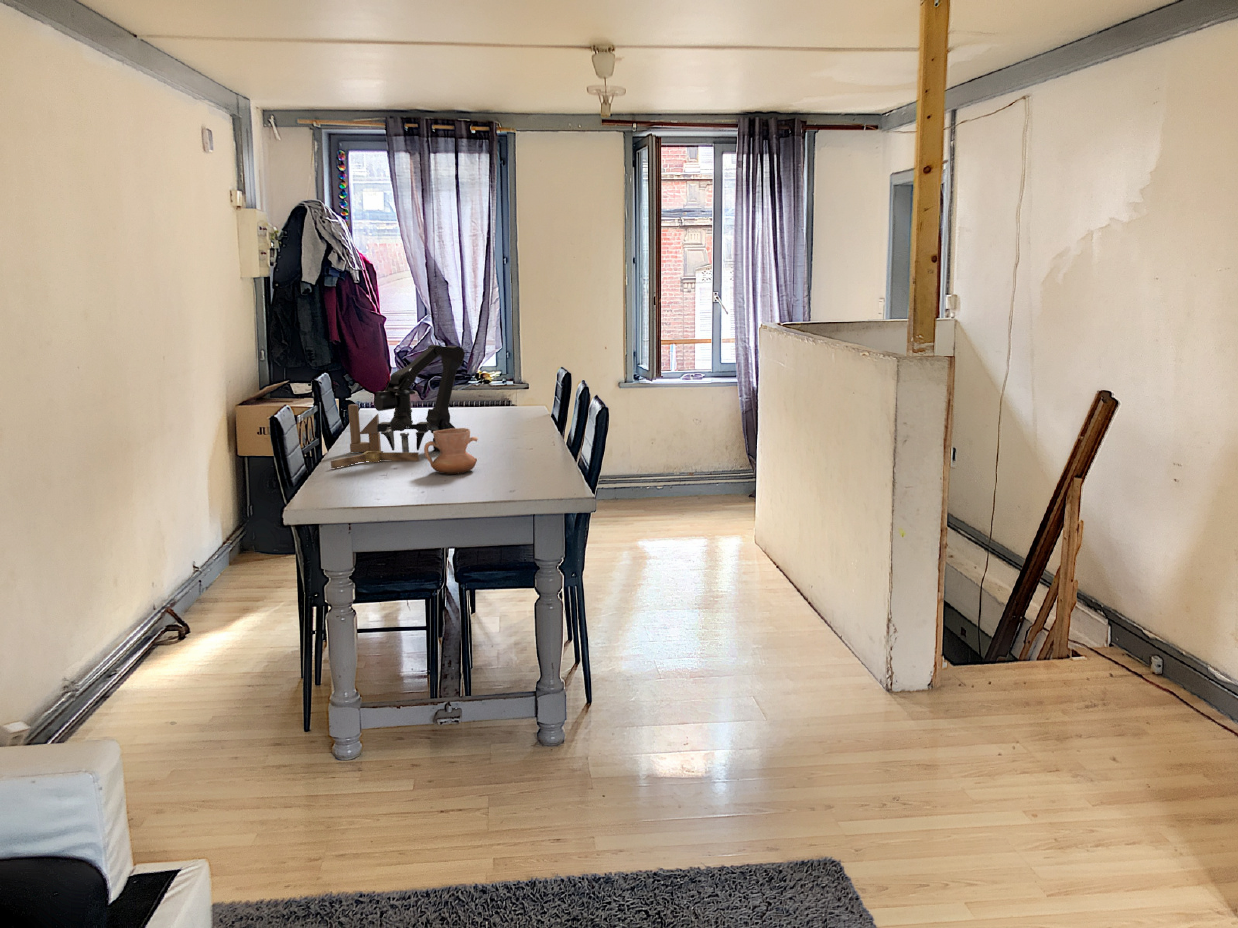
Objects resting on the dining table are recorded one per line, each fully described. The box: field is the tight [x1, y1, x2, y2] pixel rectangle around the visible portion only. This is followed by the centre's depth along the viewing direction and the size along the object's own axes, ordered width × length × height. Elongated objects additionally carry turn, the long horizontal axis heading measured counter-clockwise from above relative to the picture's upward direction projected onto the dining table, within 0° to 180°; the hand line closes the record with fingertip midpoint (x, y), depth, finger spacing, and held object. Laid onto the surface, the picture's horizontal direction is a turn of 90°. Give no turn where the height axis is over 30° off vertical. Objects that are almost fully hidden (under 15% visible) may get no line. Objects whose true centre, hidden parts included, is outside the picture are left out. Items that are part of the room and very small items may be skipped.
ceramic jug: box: [423, 427, 479, 475], centre depth 340 cm, size 18×14×14 cm
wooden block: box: [347, 403, 382, 453], centre depth 381 cm, size 4×11×18 cm, turn 92°
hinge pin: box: [399, 432, 410, 452], centre depth 369 cm, size 3×3×9 cm
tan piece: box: [330, 450, 420, 468], centre depth 358 cm, size 26×18×3 cm
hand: (405, 450), depth 370 cm, fingers open, 9 cm apart
